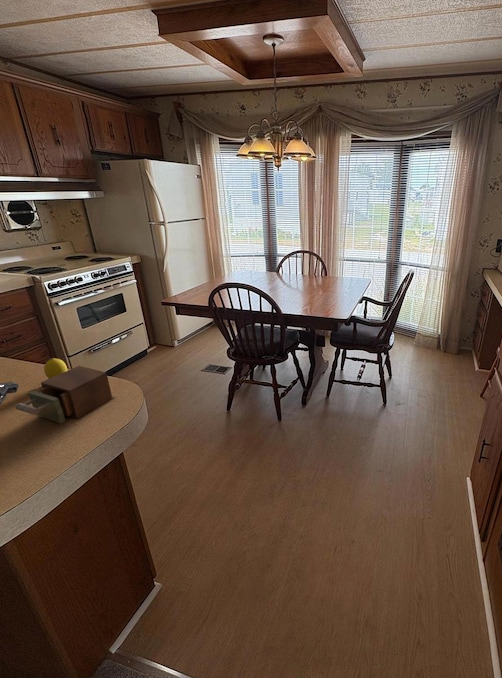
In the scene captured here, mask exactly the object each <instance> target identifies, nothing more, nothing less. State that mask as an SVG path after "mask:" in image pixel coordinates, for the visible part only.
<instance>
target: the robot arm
mask: <svg viewBox="0 0 502 678" xmlns="http://www.w3.org/2000/svg"><path fill="white" fill-rule="evenodd" d="M18 389H19V383H17V382H13V381H9V382H0V405H1V404H2V403H3V402H4V401H5V400H6V398H7V394H15V393H17V391H18Z"/></svg>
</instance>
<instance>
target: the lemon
mask: <svg viewBox="0 0 502 678" xmlns="http://www.w3.org/2000/svg"><path fill="white" fill-rule="evenodd" d="M43 371H44V374H45V376H46V378H48V379H50V378H52V377H55V376H57V375H59V374H61V373H64V372H66V371H68V367H67V365H66V363H65V362H64V361H63V360H61V359H60V358H54V357H52V358H50V359H49V360H48V361H46V362H45V364H44V367H43Z"/></svg>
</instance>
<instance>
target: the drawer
mask: <svg viewBox="0 0 502 678" xmlns="http://www.w3.org/2000/svg"><path fill="white" fill-rule="evenodd" d="M27 394H28V397H29V400H28V401H26V402H24V403H22V402H19V403H17V404H15V409H16V410H18V411H21V412H24V413H28V414H30V415H33V416H38V417H40V418H44V419H47V420H50V421H53V422H56V423H59V424H62V423H64V422H66V418H65V416H67V417H70V416H69V415H71V414H73V413H74V411H73V408H72V405H71V401H70V398H69V394H68V393H67V392H64V391H61V390H57V389H54V388H50V387H44V388H42V387H41V388H40V391H36V390H31V391H29V392H27Z"/></svg>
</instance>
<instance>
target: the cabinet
mask: <svg viewBox="0 0 502 678" xmlns="http://www.w3.org/2000/svg"><path fill="white" fill-rule="evenodd" d="M40 385H41V389H42V388H44V387H50V388H54V389H57V390H61V391H64V392H67V393H68V394H69V398H70V401H71V405H72V408H73V411H74V413H73V414H71V415H69V416H68V417H72V418H75V419H79V418H81V417H83V416H84V415H86V414H88V413H90V412H91V411H93V410H95V409H97V408H98V407H101V406H102V405H104V404H105V403H107V402H109V401H111V400H113V395H112V390H111V387H110V386H111V385H110V382H109V377H108V373H107V372H106V371H101V370H98V369H94V368H90V367H86V366H83V365H78V366H75V367H73V368H71V369H67V371H66V372H64V373H61V374H59V375H57V376H55V377H52V378H50V379H49V378H48V379H45V380H43V381H41V382H40Z"/></svg>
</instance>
